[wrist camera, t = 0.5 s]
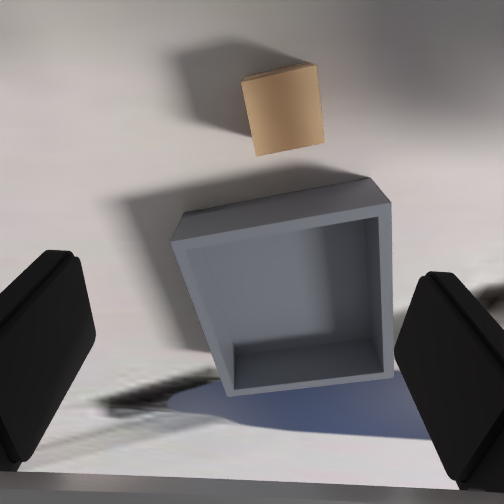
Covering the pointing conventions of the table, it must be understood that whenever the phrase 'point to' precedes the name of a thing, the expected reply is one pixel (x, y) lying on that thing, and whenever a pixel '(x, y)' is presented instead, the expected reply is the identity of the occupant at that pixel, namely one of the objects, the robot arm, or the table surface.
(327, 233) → the bin
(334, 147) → the table surface
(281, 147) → the oak block
